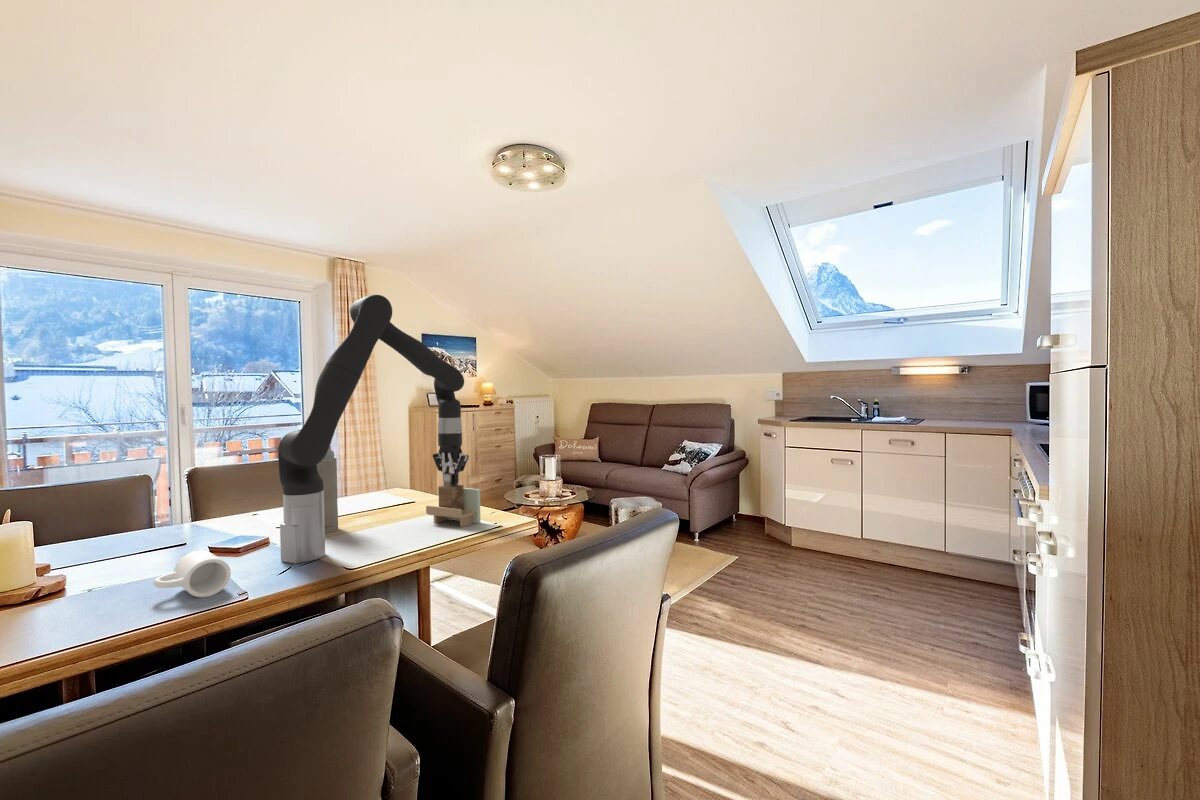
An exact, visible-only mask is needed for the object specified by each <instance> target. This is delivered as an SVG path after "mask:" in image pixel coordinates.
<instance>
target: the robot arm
mask: <svg viewBox="0 0 1200 800" xmlns="http://www.w3.org/2000/svg"><path fill="white" fill-rule="evenodd" d="M349 309H350V310H349V315H350V318H351V320H352V321H353V323H354V324H353V326H352V328H351V330H350V332H349V333H348V335H347V336H346V337H345V339H344V340H343V341H342V342H341V343H340V344H339V345H338V347H337V348H336V349H335V350H334V351H333V353H332V354H331V355H330V357H328V360H327V361H326V363H325V364H324V367H323V368H322V370H321V372H320V374H319V377H318V379H317V382H316V386H315V389H314V390H315V391H314V399H313V405H312V407H311V408H312V409H311V412H310V413H309V415H308V417H307V419H306V421H305V423H304V425H303V426H302V427H301V429H299V430H292V431H290V432H288V433H286V434H285V435H284V436H283V437H282V438H281V440H280V441H279V444H278V448H277V449H278V451H277V459H278V460H277V461H278V473H279V476H278V477H279V482H280V484H281V488H282V500H283V501H282V503H283V523H280V525H279V535H280V562H285V563H291V564H295V565H296V564H297V565H298V564H300V563H307V562H310V561H316V560H318V559H321V558H323V557H324V556H325V555H326V538H325V537H326V533H325V525H324V483H323V480H322V478H321V477H320V475H319V473H318V470H317V464H318V463H320V462H321V461H322V460H323V459H324V457H325V456H326V454H327V452H328V449H329V446H331V444H332V440H333V437H334V434H335V432H336V429H337V426H338V423H339V422H340V419H341V418H342V416H343V413H344V411H345V409H346V408H347V405H348V403H349V401H350V399H351V397H352V395H353V393H354V391H355V390H356V387H357V385H358V384H359V381H360V379H361V377H362V375H363V372H364V370H365V368H366V366H367V364H368V361H369V359H370V357H371V355H372V352H373V350H374V348H375V346H376V344H377V342H378V341H381V342H383V343H384V344H385V345H387V346H389V347H390V348H391V349H393V350H394V351H395V352H397V353H398V354H399V355H401V356H402V357H403V358H405V359H406V360H407V361H408V362H409V363H410V364H411V365H413V366H414V367H415V368H416V369H417V370H419V371H420V372H421V373H422V374H424V375H426V376H429V377H432V378H433V379H434V380H433V389H434V393H435V398H436V400H437V405H438V410H437V411H438V412H437V413H438V415H437V416H438V419H437V420H438V421H437V445H438V447H439V449H438V452H436V453H433V454H432V459H433V461H434V463H435V466H436V469H437V470H438V472H442V478H443V479H442V480H443V483H444V474H447V473H452V474H451V484H452V485H457V484H458V485H459V473H461V472H464V470H465V467H466V465H467V462H468V460H469V458H470V456H469V454H465V453H463V450H462V446H463V425H462V424H463V422H462V409H461V408H462V406H461V402H460V400H459V399H457V398H456V396H455V395H456V394H455V392H458V391H460V390H461V389H463V388H464V385H465V379H464V375H463V374H462V373H461V371H460V370H458V368H456V367H455V366H453V365H451V364H450V363H448V362H447V361H446V360H443V359H441V358H440V357H439V356H438V355H437V354H435V352H434V351H433V350H432V349H430V347H428V346H427V345H426V344H424V342H421V341H420V340H418V339H416V338H414V337H413V336H412V335H409V334H408V333H405V332H404V331H403V330H401V329H400V328H399V327H397V326H395V325H394V324H393V323H392V322H391V320H392V316H393V307H392V304H391V302H390V300H389V299H388V298H387V297H385V296H384V295H382V294H370V295H367V296H364V297H361V298H359V299H357V300H355V301H354V302H353V303H352V304H351V306H350V308H349ZM330 443H331V444H330Z"/></svg>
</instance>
